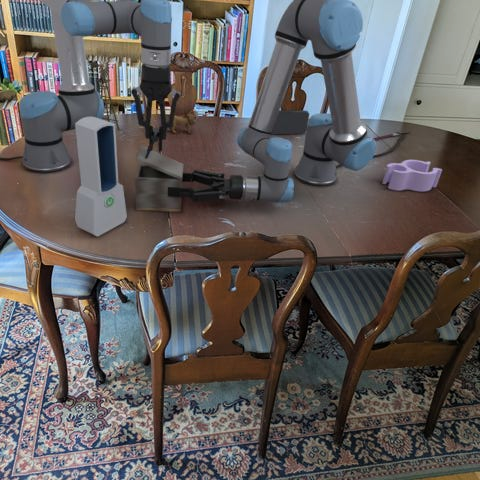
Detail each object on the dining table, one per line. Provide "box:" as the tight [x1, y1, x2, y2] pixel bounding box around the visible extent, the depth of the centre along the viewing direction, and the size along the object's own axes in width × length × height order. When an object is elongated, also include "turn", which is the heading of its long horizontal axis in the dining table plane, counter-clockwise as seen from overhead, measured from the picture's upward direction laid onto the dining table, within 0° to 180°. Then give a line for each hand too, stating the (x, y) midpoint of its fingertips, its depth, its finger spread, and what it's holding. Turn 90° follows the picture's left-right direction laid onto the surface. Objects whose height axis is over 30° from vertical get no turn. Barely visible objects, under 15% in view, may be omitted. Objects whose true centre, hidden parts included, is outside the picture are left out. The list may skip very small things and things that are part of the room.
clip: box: [381, 159, 443, 192], centre depth 171 cm, size 20×12×7 cm, turn 109°
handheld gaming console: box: [271, 109, 310, 135], centre depth 204 cm, size 23×3×10 cm, turn 108°
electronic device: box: [74, 116, 128, 238], centre depth 122 cm, size 12×8×30 cm, turn 148°
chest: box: [134, 163, 184, 213], centre depth 141 cm, size 13×10×10 cm
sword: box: [372, 131, 411, 141], centre depth 215 cm, size 31×3×1 cm, turn 126°
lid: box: [135, 127, 185, 180], centre depth 135 cm, size 14×10×9 cm
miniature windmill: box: [90, 53, 120, 130], centre depth 181 cm, size 9×8×30 cm
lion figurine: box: [166, 109, 199, 134], centre depth 194 cm, size 15×5×9 cm, turn 110°
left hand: (155, 149), depth 134 cm, fingers closed on lid, 2 cm apart
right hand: (168, 183), depth 141 cm, fingers closed on chest, 9 cm apart
